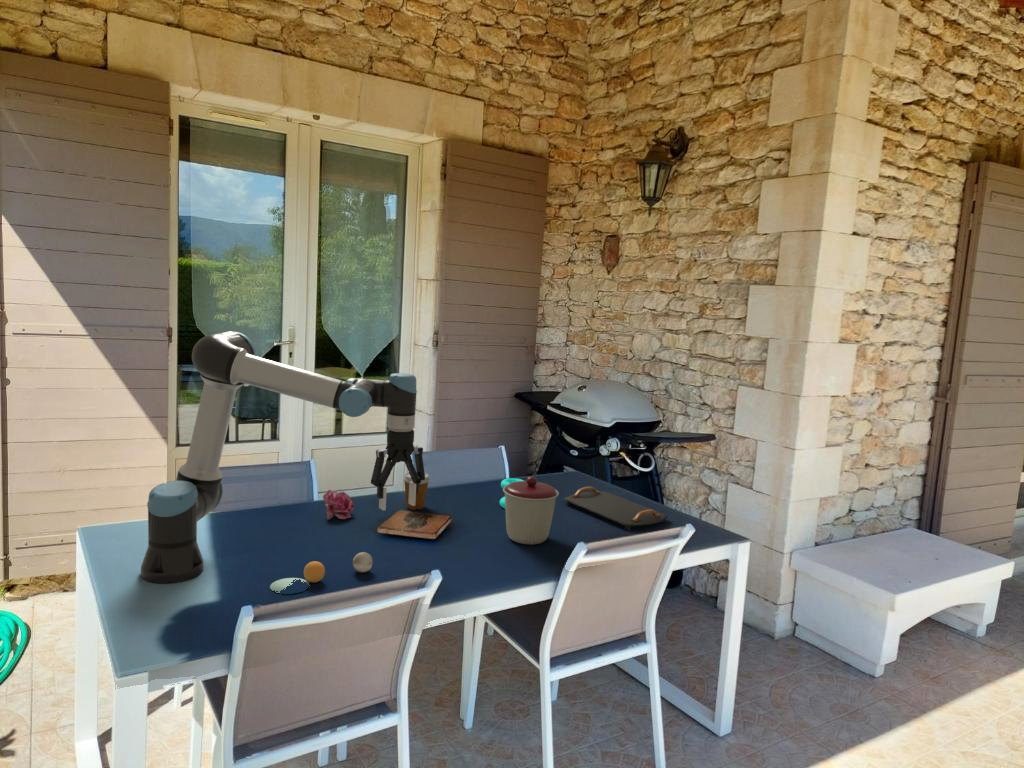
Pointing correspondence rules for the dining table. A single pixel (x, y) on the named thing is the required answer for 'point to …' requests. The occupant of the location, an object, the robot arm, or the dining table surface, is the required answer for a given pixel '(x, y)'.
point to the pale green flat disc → (284, 584)
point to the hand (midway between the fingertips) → (397, 506)
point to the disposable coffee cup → (419, 496)
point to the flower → (338, 504)
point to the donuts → (503, 484)
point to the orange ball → (314, 571)
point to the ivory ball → (362, 562)
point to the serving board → (615, 508)
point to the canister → (529, 510)
